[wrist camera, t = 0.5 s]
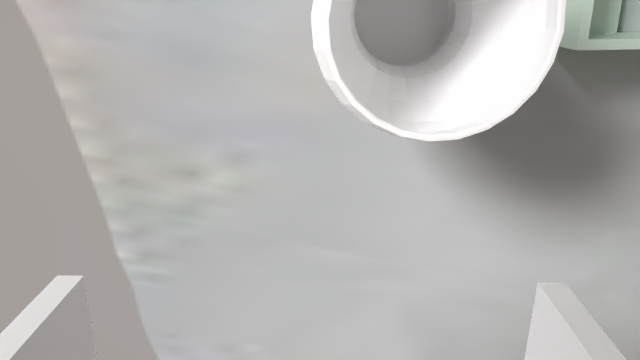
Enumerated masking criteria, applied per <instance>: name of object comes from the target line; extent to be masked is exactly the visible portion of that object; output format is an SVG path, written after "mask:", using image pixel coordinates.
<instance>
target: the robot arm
mask: <svg viewBox="0 0 640 360" xmlns="http://www.w3.org/2000/svg"><path fill="white" fill-rule="evenodd" d="M96 355H97V348H96V342H95V337H94V331H93V326H92V321H91V315H90V310H89V304H88V299H87V294H86V288H85V283H84V278H83V276H56V278H54V280H52V282H51V283H50V284H49V285H48V286H47V287H46V288H45V289H44V290H43V291H42V292H41V293H40V294H39V295H38V296H37V297H36V298H35V299H34V300H33V301H32V302H31V303H30V304H29V305H28V306H27V307H26V308H25V309H24V310H23V311H22V312H21V313H20V314H19V315H18V317H16V318H15V319H14V320H13V322H12V323H11V324H10V325H9V326H8V327H7V328H6V329H5V330H4V331H3V332H2V333H1V334H0V360H93V359H94V358H95V357H96ZM524 360H627V359H626V358H625V357H624V356H623V354H622V353H621V352H620V351H619V349H618V348H617V347H616V346H615V344H614V343H613V342H612V341H611V339H610V338H609V337H608V336H607V335H606V333H605V332H604V331H603V330H602V328H601V327H600V326H599V325H598V323H597V322H596V321H595V320H594V318H593V317H592V316H591V315H590V313H589V312H588V311H587V310H586V308H585V307H584V306H583V305H582V303H581V302H580V301H579V300H578V298H577V297H576V296H575V295H574V293H573V292H572V291H571V290H570V288H569V287H568V286H567V285H566V284H565V283H551V282H538V284H537V290H536V295H535V301H534V307H533V313H532V318H531V324H530V330H529V335H528V341H527V347H526V353H525V358H524Z"/></svg>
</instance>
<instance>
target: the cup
mask: <svg viewBox="0 0 640 360" xmlns="http://www.w3.org/2000/svg"><path fill="white" fill-rule="evenodd" d="M566 1H567V0H314V1H313V7H312V13H311V23H312V35H313V46H314V51H315V54H316V57H317V60H318V62H319V65H320V68H321V71H322V74H323V76H324V79H325V80H326V82H327V83H328V85H329V86H330V87H331V89H332V90H333V92H334V93H335V95H336V96H337V98H338V99H339V101H340V102H341V103H342V104H343V105H344V106H345V107H346V108H348V109H349V110H350V111H351V112H352V113H354V114H355V115H356V116H357V117H358V118H359V119H361V120H362V121H363V122H365V123H367V124H369V125H371V126H373V127H375V128H377V129H380V130H382V131H384V132H386V133H388V134H391V135H395V136H398V137H403V138H409V139H414V140H420V141H426V142H436V141H449V140H459V139H462V138H465V137H468V136H471V135H474V134H477V133H480V132H483V131H486V130H488V129H490V128H491V127H493V126H495V125H496V124H498V123H500V122H501V121H503V120H504V119H506V118H508V117H509V116H511V115H512V114H514V113H515V112H516V111H517V110H518V109H519V108H520V107H521V106H522V105H523V104H524V103H525V102H526V101H527V100H528V99H529V98H530V97H531V96H532V95H533V94H534V93H535V92H536V91H537V89H538V88H539V86H540V84H541V83H542V81H543V79H544V78H545V76H546V75H547V73H548V71H549V70H550V68H551V67H552V65H553V63H554V61H555V58H556V55H557V52H558V49H559V45H560V42H561V39H562V36H563V33H564V27H565V14H566Z"/></svg>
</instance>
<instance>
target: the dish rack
mask: <svg viewBox="0 0 640 360" xmlns="http://www.w3.org/2000/svg"><path fill="white" fill-rule="evenodd" d="M621 4H622V0H567V1H566V14H565V27H564V33H563V36H562V39H561V42H560V45H559V47H563V48H567V49H572V50H629V49H640V32H617V27H618V21H619V16H620V10H621Z"/></svg>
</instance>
